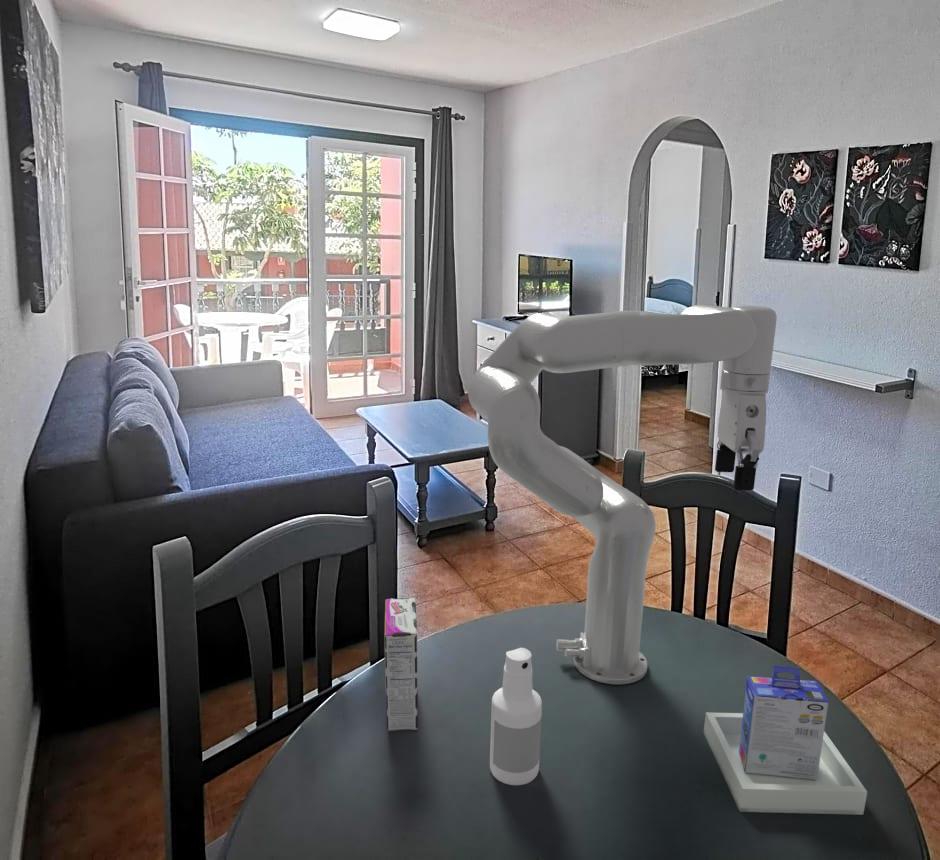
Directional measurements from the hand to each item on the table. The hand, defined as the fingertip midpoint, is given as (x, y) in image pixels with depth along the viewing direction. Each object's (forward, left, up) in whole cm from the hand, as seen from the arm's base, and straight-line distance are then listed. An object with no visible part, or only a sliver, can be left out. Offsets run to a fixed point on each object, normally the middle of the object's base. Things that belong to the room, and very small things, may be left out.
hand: (733, 480), depth 127 cm
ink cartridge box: (-1, -31, -32) cm, 45 cm away
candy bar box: (-55, -20, -32) cm, 67 cm away
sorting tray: (-1, -32, -32) cm, 45 cm away
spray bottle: (-38, -33, -32) cm, 60 cm away
